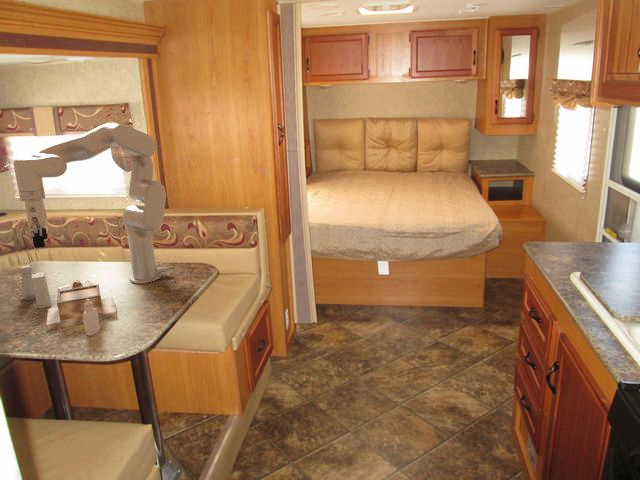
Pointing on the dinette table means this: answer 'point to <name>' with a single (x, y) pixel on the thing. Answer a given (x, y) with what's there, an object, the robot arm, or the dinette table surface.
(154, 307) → the dinette table surface
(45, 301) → the skincare box
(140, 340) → the dinette table surface
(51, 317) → the display plinth
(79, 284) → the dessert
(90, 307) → the eye dropper bottle
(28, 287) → the salt shaker
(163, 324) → the dinette table surface
